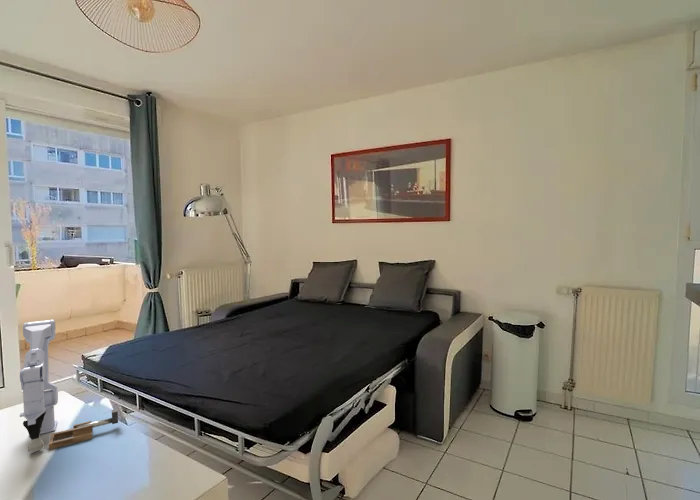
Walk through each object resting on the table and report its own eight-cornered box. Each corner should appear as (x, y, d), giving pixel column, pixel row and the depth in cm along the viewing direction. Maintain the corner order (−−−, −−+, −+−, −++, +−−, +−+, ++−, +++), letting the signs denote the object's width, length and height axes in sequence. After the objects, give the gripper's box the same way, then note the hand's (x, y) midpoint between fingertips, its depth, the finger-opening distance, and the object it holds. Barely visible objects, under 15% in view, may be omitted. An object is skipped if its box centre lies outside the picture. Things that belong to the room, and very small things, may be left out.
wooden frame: (51, 438, 144) (51, 428, 144) (92, 428, 151) (91, 418, 151) (48, 449, 136) (48, 438, 136) (91, 438, 143) (91, 427, 143)
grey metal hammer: (77, 429, 146) (76, 418, 146) (117, 419, 153) (117, 408, 153) (76, 433, 143) (76, 421, 143) (118, 422, 151) (117, 411, 150)
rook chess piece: (35, 453, 132) (33, 431, 132) (25, 452, 133) (23, 430, 133) (47, 446, 137) (46, 425, 136) (37, 444, 137) (36, 423, 137)
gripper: (22, 394, 138) (24, 430, 138) (15, 410, 126) (17, 449, 126) (47, 390, 142) (49, 425, 142) (42, 404, 130) (44, 442, 130)
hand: (35, 436), depth 135 cm, fingers closed on rook chess piece, 3 cm apart
